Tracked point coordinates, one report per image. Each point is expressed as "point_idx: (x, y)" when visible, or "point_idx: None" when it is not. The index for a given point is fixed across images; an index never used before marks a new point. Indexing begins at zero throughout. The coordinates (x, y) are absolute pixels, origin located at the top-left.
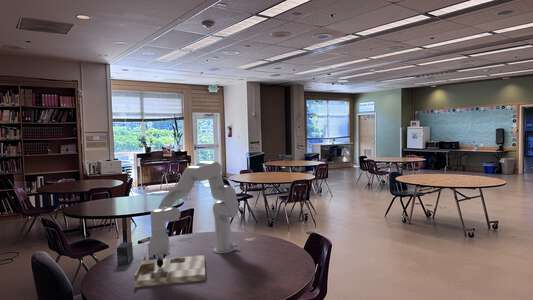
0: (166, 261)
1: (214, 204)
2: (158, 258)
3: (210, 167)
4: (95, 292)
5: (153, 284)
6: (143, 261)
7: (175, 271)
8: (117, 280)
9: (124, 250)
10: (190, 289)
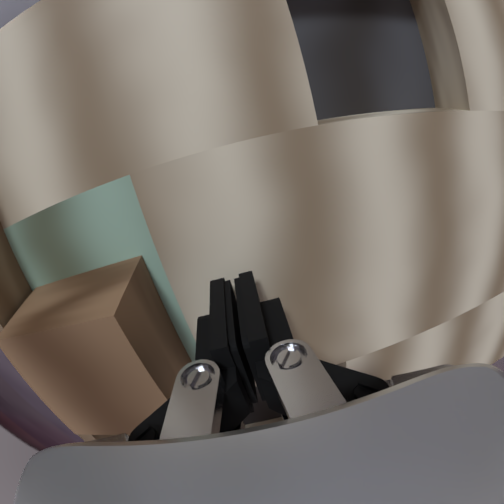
0: (236, 34)
1: None
2: (240, 420)
3: None
4: (38, 442)
5: None
6: (25, 368)
7: (405, 351)
8: (2, 361)
9: None
10: None
